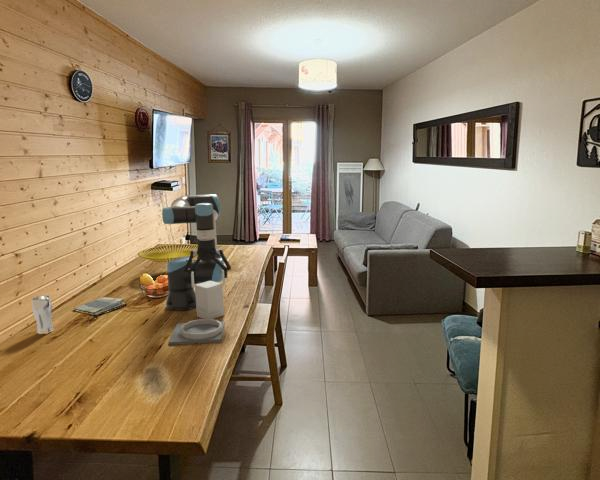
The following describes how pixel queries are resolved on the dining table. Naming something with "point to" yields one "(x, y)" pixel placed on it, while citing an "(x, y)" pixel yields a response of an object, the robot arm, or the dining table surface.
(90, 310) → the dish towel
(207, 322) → the bottle holder
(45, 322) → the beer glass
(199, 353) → the dining table surface
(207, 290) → the supplement box
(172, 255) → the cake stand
